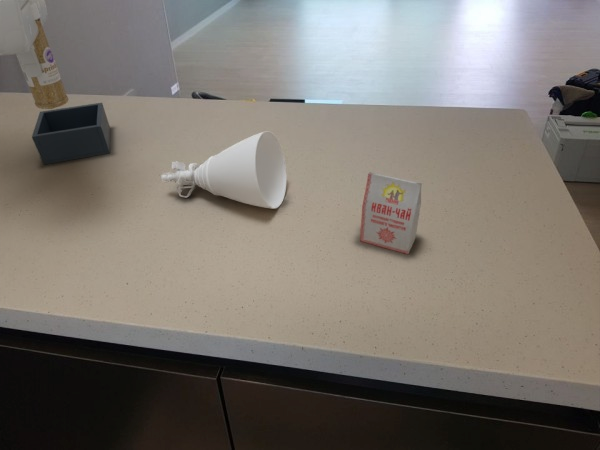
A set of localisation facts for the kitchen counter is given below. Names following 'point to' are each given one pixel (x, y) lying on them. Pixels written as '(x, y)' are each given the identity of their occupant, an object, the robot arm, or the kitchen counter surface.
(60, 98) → the sprinkles bottle
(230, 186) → the rocket engine
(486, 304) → the kitchen counter surface
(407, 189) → the tea bag
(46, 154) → the box
